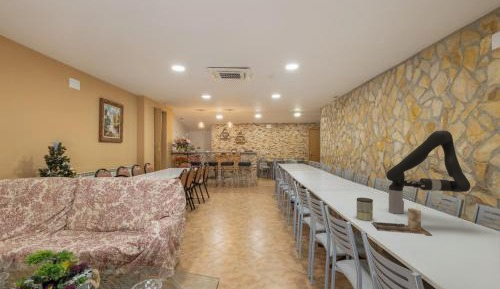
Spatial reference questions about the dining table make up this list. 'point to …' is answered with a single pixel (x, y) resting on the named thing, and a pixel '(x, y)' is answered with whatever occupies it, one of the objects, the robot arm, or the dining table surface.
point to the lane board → (397, 228)
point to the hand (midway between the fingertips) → (401, 183)
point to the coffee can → (365, 209)
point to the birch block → (414, 219)
